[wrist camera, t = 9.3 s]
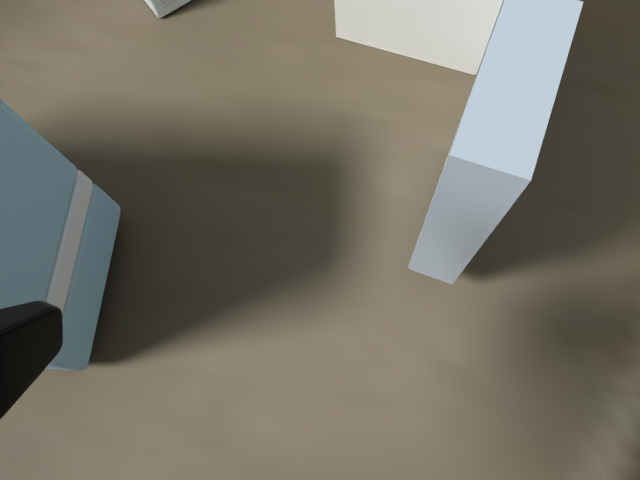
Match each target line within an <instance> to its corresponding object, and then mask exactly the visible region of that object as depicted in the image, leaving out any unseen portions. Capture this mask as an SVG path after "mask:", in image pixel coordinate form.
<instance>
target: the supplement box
mask: <svg viewBox="0 0 640 480" xmlns="http://www.w3.org/2000/svg"><path fill="white" fill-rule="evenodd" d="M144 1H145V2H146V3H147V4H148V6H149V7H150V8H151V9H152V11H153V12H154V13H155V14H156V16H157V17H159V18H161V17H163V16H165V15H167V14H169V13H171V12H172V11H174V10H176V9H178V8H179V7H181V6H183V5H185V4H186V3H188V2H190V1H191V0H144Z"/></svg>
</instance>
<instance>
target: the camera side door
mask: <svg viewBox="0 0 640 480" xmlns="http://www.w3.org/2000/svg"><path fill="white" fill-rule="evenodd" d="M582 5H583V1H579V0H504V2H503V5H502V8H501V10H500V13H499V16H498V19H497V21H496V24H495V27H494V30H493V32H492V35H491V38H490V41H489V43H488V46H487V49H486V52H485V54H484V57H483V60H482V63H481V65H480V68H479V71H478V74H477V77H476V79H475V82H474V85H473V88H472V90H471V93H470V96H469V99H468V101H467V104H466V107H465V110H464V112H463V115H462V118H461V121H460V123H459V126H458V129H457V132H456V134H455V137H454V140H453V143H452V145H451V148H450V151H449V154H448V156H447V159H446V162H445V165H444V168H443V170H442V173H441V176H440V179H439V182H438V184H437V187H436V190H435V193H434V196H433V198H432V201H431V204H430V207H429V210H428V212H427V215H426V218H425V221H424V224H423V227H422V229H421V232H420V235H419V238H418V241H417V243H416V246H415V249H414V252H413V255H412V257H411V260H410V263H409V266H408V269H410V270H413V271H416V272H419V273H421V274H424V275H427V276H430V277H433V278H435V279H438V280H441V281H444V282H447V283H450V284H453V283H454V282H455V280H456V279H457V278H458V276H459V275H460V274H461V272H462V271H463V270H464V268H465V267H466V266H467V264H468V263H469V262H470V260H471V259H472V258H473V256H474V255H475V254H476V253H477V251H478V250H479V249H480V247H481V246H482V245H483V243H484V242H485V241H486V239H487V238H488V237H489V235H490V234H491V233H492V231H493V230H494V229H495V227H496V226H497V225H498V223H499V222H500V221H501V220H502V218H503V217H504V216H505V214H506V213H507V212H508V210H509V209H510V208H511V206H512V205H513V204H514V202H515V201H516V200H517V198H518V197H519V196H520V194H521V193H522V192H523V190H524V189H525V188H526V187H527V185H528V184H529V183H530V181H531V179H532V176H533V172H534V169H535V166H536V162H537V159H538V155H539V152H540V149H541V145H542V142H543V138H544V135H545V131H546V128H547V125H548V121H549V118H550V114H551V111H552V108H553V104H554V101H555V97H556V94H557V91H558V87H559V84H560V80H561V77H562V74H563V70H564V67H565V63H566V60H567V57H568V53H569V50H570V46H571V43H572V39H573V36H574V33H575V29H576V26H577V22H578V19H579V16H580V12H581V9H582Z"/></svg>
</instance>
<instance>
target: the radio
mask: <svg viewBox="0 0 640 480" xmlns="http://www.w3.org/2000/svg"><path fill="white" fill-rule="evenodd" d="M120 210H121V209H120V206H119V205H118V204H117V203H116V202H115V201H114V200H113V199H112V198H111V197H109V196H108V195H107V194H106V193H105V192H104V191H103V190H102V189H100V188H99V187H98V186H97V185H96V184H93V183H92V181H91V180H90V179H89V178H88V177H87V176H86V175H85V174H84V173H83V172H81V171H80V170H78V169H76V167H75V165H74V164H72V163H71V162H70V161H69V160H68V159H67V158H66V157H65V156H63V155H62V154H61V153H60V152H59V151H58V150H57V149H56V148H54V147H53V146H52V145H51V144H50V143H49V142H48V141H47V140H45V139H44V138H43V137H42V136H41V135H40V134H39V133H38V132H36V131H35V130H34V129H33V128H32V127H31V126H30V125H29V124H27V123H26V122H25V121H24V120H23V119H22V118H21V117H20V116H18V115H17V114H16V113H15V112H14V111H13V110H12V109H11V108H9V107H8V106H7V105H6V104H5V103H4V102H3V101H2V100H0V309H2V308H6V307H11V306H15V305H19V304H24V303H28V302H33V301H39V300H40V301H45V302H47V303H50V304H52V305H54V306H57V307H58V308H60V310H61V311H62V317H63V344H62V347H61V350H60V351H59V353H58V354H57V356H56V357H55V358H54V359H53V360H52V362H51V363H50V364H49V365H48V366H47V367H46V368H45V369H52V370H71V371H73V370H84V369H86V367H87V365H88V362H89V358H90V354H91V350H92V345H93V340H94V336H95V331H96V326H97V322H98V317H99V312H100V308H101V303H102V298H103V294H104V289H105V284H106V280H107V275H108V270H109V266H110V261H111V256H112V252H113V247H114V242H115V238H116V233H117V228H118V224H119V218H120Z"/></svg>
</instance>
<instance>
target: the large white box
mask: <svg viewBox="0 0 640 480" xmlns="http://www.w3.org/2000/svg"><path fill="white" fill-rule="evenodd" d="M502 3H503V0H335V21H336V37H338V38H342V39H345V40H349V41H353V42H356V43H360V44H363V45H367V46H371V47H374V48H378V49H382V50H385V51H389V52H392V53H396V54H400V55H403V56H407V57H411V58H414V59H418V60H421V61H425V62H429V63H432V64H436V65H440V66H443V67H447V68H451V69H454V70H458V71H461V72H465V73H469V74H472V75H477V72H478V69H479V66H480V64H481V61H482V58H483V55H484V53H485V50H486V47H487V44H488V42H489V39H490V36H491V33H492V30H493V28H494V25H495V22H496V19H497V17H498V14H499V11H500V8H501V6H502Z"/></svg>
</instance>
